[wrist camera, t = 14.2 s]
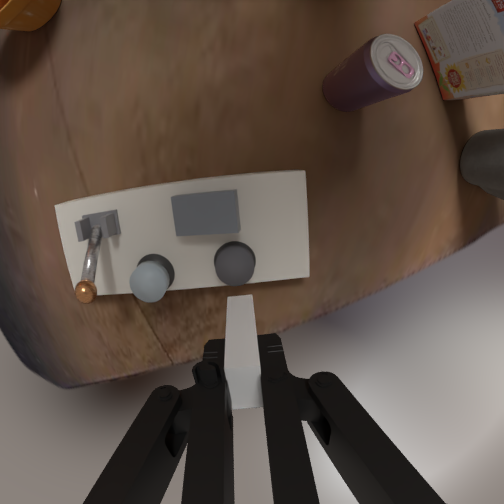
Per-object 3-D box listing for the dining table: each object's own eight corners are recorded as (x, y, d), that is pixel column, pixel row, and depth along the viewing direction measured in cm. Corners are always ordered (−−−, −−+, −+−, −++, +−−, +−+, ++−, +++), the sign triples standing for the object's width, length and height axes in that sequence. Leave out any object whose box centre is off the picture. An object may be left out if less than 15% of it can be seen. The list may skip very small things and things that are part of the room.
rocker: (175, 194, 31) (170, 196, 30) (236, 189, 30) (234, 190, 29) (181, 233, 33) (176, 236, 32) (240, 229, 32) (238, 233, 30)
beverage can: (348, 121, 34) (409, 104, 20) (312, 93, 33) (357, 58, 19) (369, 90, 33) (433, 64, 19) (335, 63, 32) (386, 21, 17)
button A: (214, 246, 34) (212, 251, 32) (251, 242, 34) (252, 247, 32) (218, 280, 35) (217, 287, 33) (254, 277, 35) (256, 284, 34)
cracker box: (464, 99, 33) (560, 91, 13) (441, 101, 33) (544, 88, 13) (437, 24, 29) (519, -11, 9) (412, 22, 29) (496, -24, 9)
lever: (85, 220, 30) (68, 298, 25) (103, 217, 31) (88, 297, 26) (94, 233, 33) (81, 307, 28) (111, 230, 33) (100, 306, 28)
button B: (131, 262, 33) (125, 268, 31) (165, 258, 33) (161, 265, 31) (139, 296, 34) (134, 303, 32) (172, 293, 34) (169, 301, 32)
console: (69, 200, 35) (42, 209, 28) (298, 169, 36) (311, 171, 29) (87, 285, 39) (66, 305, 32) (302, 265, 40) (315, 286, 33)
